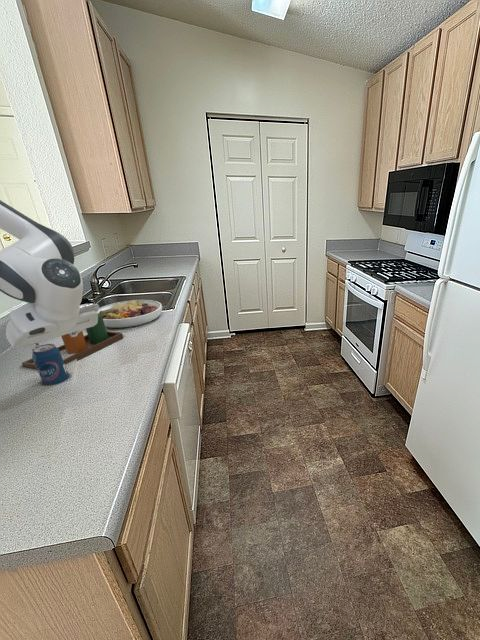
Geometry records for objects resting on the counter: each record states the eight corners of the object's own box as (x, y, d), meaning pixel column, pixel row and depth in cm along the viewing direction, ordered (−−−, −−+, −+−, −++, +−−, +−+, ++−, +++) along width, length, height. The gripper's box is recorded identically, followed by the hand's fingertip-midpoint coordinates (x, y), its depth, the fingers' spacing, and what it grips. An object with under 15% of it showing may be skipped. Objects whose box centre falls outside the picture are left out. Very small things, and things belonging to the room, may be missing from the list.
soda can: (41, 389, 101) (26, 354, 96) (46, 379, 107) (32, 345, 102) (68, 384, 104) (54, 349, 98) (71, 374, 109) (59, 341, 104)
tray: (50, 374, 110) (48, 367, 109) (24, 368, 114) (21, 362, 113) (123, 338, 137) (122, 333, 136) (100, 335, 141) (98, 329, 140)
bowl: (79, 326, 151) (73, 309, 147) (130, 306, 176) (127, 292, 172) (129, 334, 141) (125, 316, 138) (176, 312, 166) (173, 297, 163)
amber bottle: (67, 357, 121) (52, 318, 115) (69, 350, 127) (55, 313, 120) (87, 353, 124) (74, 315, 117) (88, 347, 129) (76, 310, 123)
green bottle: (90, 346, 130) (78, 309, 123) (91, 340, 135) (79, 305, 128) (109, 343, 133) (98, 307, 126) (109, 337, 138) (99, 302, 131)
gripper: (93, 292, 90) (87, 320, 99) (0, 313, 75) (3, 343, 84) (106, 311, 89) (98, 337, 99) (15, 336, 75) (17, 363, 84)
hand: (54, 340), depth 92 cm, fingers open, 8 cm apart
